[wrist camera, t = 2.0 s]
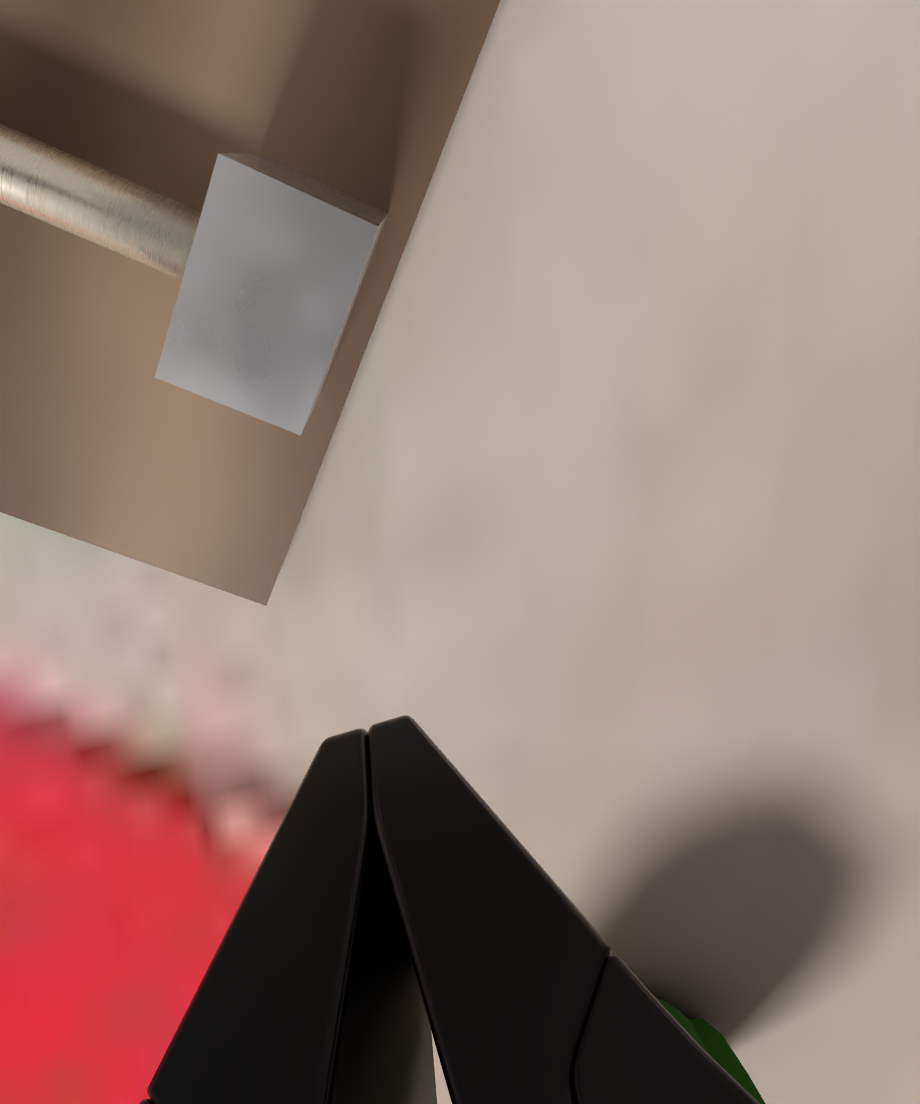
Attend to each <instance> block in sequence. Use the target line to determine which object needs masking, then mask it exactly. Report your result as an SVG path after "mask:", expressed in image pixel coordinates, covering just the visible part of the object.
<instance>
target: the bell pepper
mask: <svg viewBox="0 0 920 1104" xmlns="http://www.w3.org/2000/svg"><path fill="white" fill-rule="evenodd" d="M654 997H655V996H654ZM655 998H656V999H657V1000H658V1001H659V1002H660V1003H661V1004H662V1005H663V1006H664V1007H665V1008H666V1010H667V1011H668V1012H669V1013H670V1014H671V1015H672V1016H673V1017H674V1018H675V1019H676V1020H677V1021H678V1022H679V1024H680V1025H681V1026H682V1027H683V1028H684V1029H685V1030H686V1031H687V1032H688V1033H689V1034H690V1035H691V1037H692V1038H693V1039H694V1040H695V1041H696V1042H697V1043H698V1044H699V1045H700V1046H701V1047H702V1048H703V1049H704V1050H705V1051H706V1052H707V1053H708V1054H709V1055H710V1056H711V1057H712V1058H713V1059H714V1060H715V1061H716V1062H717V1063H718V1064H719V1065H720V1066H721V1067H722V1068H723V1069H725V1070H726V1071H727V1072H728V1073H729V1074H730V1075H731V1076H732V1077H733V1078H734V1079H735V1080H736V1081H737V1082H738V1083H739V1084H740V1085H741V1086H742V1087H743V1088H744V1089H745V1090H746V1091H747V1092H748V1093H750V1094H751V1095H752V1096H753V1097H754V1098H755V1099H756V1100H757V1101H758V1102H759V1103H760V1104H765V1102H764V1101H763V1099H762V1097H761V1095H760V1094H759V1092H758V1090H757V1089H756V1087H755V1085H754V1083H753V1082H752V1080H751V1078H750V1077H749V1075H748V1073H747V1072H746V1070H745V1069H744V1067H743V1066H742V1064H741V1063H740V1061H739V1060H738V1058H737V1057H736V1055H735V1054H734V1052H733V1051H732V1049H731V1048H730V1046H729V1045H728V1043H727V1042H726V1040H725V1038H724V1037H723V1035H722V1034H720V1033H719V1032H718V1031H717V1030H716V1029H714V1028H713V1027H712V1026H711V1025H709V1024H708V1023H707V1022H706V1021H704V1020H703V1019H702V1018H697V1019H690V1020H689V1019H688V1018H687V1017H686V1016H685V1015H684V1014H683V1013H682V1012H681V1011H679V1010H678V1009H677V1008H676V1007H675V1006H673V1005H671V1004H669V1003H667V1002H665V1001H663V1000H661V999H659V998H657V997H655Z"/></svg>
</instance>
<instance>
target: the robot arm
mask: <svg viewBox="0 0 920 1104" xmlns="http://www.w3.org/2000/svg"><path fill="white" fill-rule="evenodd" d="M431 1031H432V1034H433V1038H434V1041H435V1045H436V1048H437V1052H438V1055H439V1059H440V1062H441V1066H442V1069H443V1073H444V1077H445V1080H446V1084H447V1087H448V1091H449V1094H450V1098H451V1101H452V1104H760V1103H759V1102H758V1101H757V1100H756V1099H755V1098H754V1097H753V1096H752V1095H751V1094H750V1093H748V1092H747V1091H746V1090H745V1089H744V1088H743V1087H742V1086H741V1085H740V1084H739V1083H738V1082H737V1081H736V1080H735V1079H734V1078H733V1077H732V1076H731V1075H730V1074H729V1073H728V1072H727V1071H726V1070H725V1069H723V1068H722V1067H721V1066H720V1065H719V1064H718V1063H717V1062H716V1061H715V1060H714V1059H713V1058H712V1057H711V1056H710V1055H709V1054H708V1053H707V1052H706V1051H705V1050H704V1049H703V1048H702V1047H701V1046H700V1045H699V1044H698V1043H697V1042H696V1041H695V1040H694V1039H693V1038H692V1037H691V1035H690V1034H689V1033H688V1032H687V1031H686V1030H685V1029H684V1028H683V1027H682V1026H681V1025H680V1024H679V1022H678V1021H677V1020H676V1019H675V1018H674V1017H673V1016H672V1015H671V1014H670V1013H669V1012H668V1011H667V1010H666V1008H665V1007H664V1006H663V1005H662V1004H661V1003H660V1002H659V1001H658V1000H657V999H656V998H655V997H654V996H653V994H652V993H651V992H650V991H649V990H648V989H647V988H646V987H645V985H644V984H643V983H642V982H641V981H640V980H639V978H638V977H637V976H636V975H635V974H634V973H633V972H632V970H631V969H630V968H629V967H628V966H627V965H626V963H625V962H624V961H623V960H622V959H621V958H620V957H619V956H618V955H615V954H614V955H613V953H612V949H611V947H610V946H609V945H608V943H607V942H606V941H605V940H604V939H603V938H602V937H601V935H600V934H599V933H598V932H597V931H596V930H595V928H594V927H593V926H592V925H591V924H590V923H589V922H588V920H587V919H586V918H585V917H584V916H583V915H582V913H581V912H580V911H579V910H578V909H577V908H576V906H575V905H574V904H573V903H572V902H571V901H570V900H569V898H568V897H567V896H566V895H565V894H564V893H563V891H562V890H561V889H560V888H559V887H558V886H557V885H556V883H555V882H554V881H553V880H552V879H551V878H550V876H549V875H548V874H547V873H546V872H545V871H544V870H543V868H542V867H541V866H540V865H539V864H538V863H537V861H536V860H535V859H534V858H533V857H532V856H531V854H530V853H529V852H528V851H527V850H526V849H525V848H524V846H523V845H522V844H521V843H520V842H519V841H518V839H517V838H516V837H515V836H514V835H513V834H512V833H511V831H510V830H509V829H508V828H507V827H506V826H505V824H504V823H503V822H502V821H501V820H500V819H499V817H498V816H497V815H496V814H495V813H494V812H493V811H492V809H491V808H490V807H489V806H488V805H487V804H486V802H485V801H484V800H483V799H482V798H481V797H480V796H479V794H478V793H477V792H476V791H475V790H474V789H473V787H472V786H471V785H470V784H469V783H468V782H467V781H466V779H465V778H464V777H463V776H462V775H461V774H460V772H459V771H458V770H457V769H456V768H455V767H454V765H453V764H452V763H451V762H450V761H449V760H448V759H447V757H446V756H445V755H444V754H443V753H442V752H441V750H440V749H439V748H438V747H437V746H436V745H435V744H434V742H433V741H432V740H431V739H430V738H429V737H428V735H427V734H426V733H425V732H424V731H423V730H422V728H421V727H420V726H419V725H418V724H417V723H416V722H415V720H414V719H412V718H411V717H410V716H401V717H397V718H394V719H391V720H387V721H384V722H380V723H377V724H374V725H372V726H371V727H370V729H369V732H367V731H366V730H364V729H356V730H353V731H349V732H346V733H342V734H339V735H336V736H332V737H329V738H327V739H325V741H324V742H323V743H322V744H321V746H320V747H319V749H318V751H317V753H316V755H315V757H314V759H313V761H312V763H311V765H310V767H309V769H308V771H307V773H306V775H305V777H304V779H303V781H302V783H301V785H300V787H299V789H298V791H297V793H296V795H295V797H294V799H293V801H292V803H291V805H290V807H289V809H288V811H287V813H286V815H285V817H284V819H283V821H282V823H281V825H280V827H279V829H278V831H277V833H276V835H275V837H274V839H273V841H272V843H271V845H270V847H269V849H268V851H267V853H266V855H265V857H264V859H263V861H262V863H261V865H260V867H259V868H258V870H257V872H256V874H255V876H254V878H253V880H252V882H251V884H250V886H249V888H248V890H247V892H246V894H245V896H244V898H243V900H242V902H241V904H240V906H239V908H238V910H237V912H236V914H235V916H234V918H233V920H232V922H231V924H230V926H229V928H228V930H227V932H226V934H225V936H224V938H223V940H222V942H221V944H220V946H219V948H218V950H217V952H216V954H215V956H214V958H213V960H212V962H211V964H210V966H209V968H208V970H207V972H206V974H205V976H204V978H203V980H202V982H201V984H200V986H199V987H198V989H197V991H196V993H195V995H194V997H193V999H192V1001H191V1003H190V1005H189V1007H188V1009H187V1011H186V1013H185V1015H184V1017H183V1019H182V1021H181V1023H180V1025H179V1027H178V1029H177V1031H176V1033H175V1035H174V1037H173V1039H172V1041H171V1043H170V1045H169V1047H168V1049H167V1051H166V1053H165V1055H164V1057H163V1059H162V1061H161V1063H160V1065H159V1067H158V1069H157V1071H156V1073H155V1075H154V1077H153V1079H152V1081H151V1083H150V1085H149V1087H148V1090H147V1093H148V1095H149V1097H150V1099H151V1100H150V1099H144V1100H142V1101H141V1102H140V1104H437V1097H436V1084H435V1072H434V1059H433V1047H432V1034H431Z"/></svg>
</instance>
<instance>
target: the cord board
mask: <svg viewBox="0 0 920 1104" xmlns="http://www.w3.org/2000/svg"><path fill="white" fill-rule="evenodd" d="M499 2H500V0H0V123H1V124H3V125H5V126H7V127H10V128H12V129H14V130H16V131H19V132H21V133H23V134H26V135H28V136H30V137H32V138H35V139H37V140H39V141H41V142H44V143H46V144H48V145H50V146H53V147H55V148H57V149H59V150H62V151H64V152H66V153H68V154H71V155H73V156H75V157H78V158H80V159H82V160H84V161H87V162H89V163H91V164H93V165H96V166H98V167H100V168H102V169H105V170H107V171H109V172H111V173H114V174H116V175H118V176H120V177H123V178H125V179H127V180H130V181H132V182H134V183H136V184H139V185H141V186H143V187H145V188H148V189H150V190H152V191H154V192H157V193H159V194H161V195H163V196H166V197H168V198H170V199H172V200H175V201H177V202H179V203H182V204H184V205H186V206H188V207H191V208H193V209H195V210H197V211H200V212H202V209H203V205H204V202H205V198H206V195H207V191H208V188H209V184H210V180H211V177H212V173H213V170H214V166H215V163H216V159H217V156H218V153H258V154H261V155H263V156H265V157H267V158H269V159H271V160H274V161H276V162H278V163H280V164H282V165H284V166H286V167H289V168H291V169H293V170H295V171H297V172H299V173H302V174H304V175H306V176H308V177H310V178H312V179H315V180H317V181H319V182H321V183H323V184H325V185H328V186H330V187H332V188H334V189H336V190H338V191H340V192H343V193H345V194H347V195H349V196H351V197H353V198H356V199H358V200H360V201H362V202H364V203H366V204H369V205H371V206H373V207H375V208H377V209H379V210H382V211H384V212H386V213H388V215H387V218H386V221H385V223H384V226H383V229H382V232H381V234H380V237H379V240H378V242H377V245H376V248H375V250H374V253H373V256H372V258H371V261H370V264H369V266H368V269H367V272H366V274H365V277H364V280H363V283H362V285H361V288H360V291H359V293H358V296H357V299H356V301H355V304H354V307H353V309H352V312H351V315H350V317H349V320H348V323H347V326H346V328H345V331H344V334H343V336H342V339H341V342H340V344H339V347H338V350H337V352H336V355H335V358H334V360H333V363H332V366H331V368H330V371H329V374H328V377H327V379H326V382H325V385H324V387H323V390H322V392H321V394H320V396H319V398H318V400H317V402H316V404H315V407H314V409H313V411H312V413H311V415H310V417H309V419H308V421H307V423H306V425H305V427H304V429H303V432H302V434H301V435H298V434H296V433H293V432H290V431H288V430H285V429H283V428H280V427H278V426H275V425H273V424H270V423H268V422H265V421H263V420H260V419H258V418H255V417H253V416H250V415H248V414H245V413H243V412H240V411H238V410H235V409H233V408H230V407H228V406H225V405H223V404H220V403H218V402H215V401H213V400H210V399H208V398H205V397H203V396H200V395H198V394H195V393H192V392H190V391H187V390H185V389H182V388H180V387H177V386H175V385H172V384H170V383H167V382H165V381H162V380H160V379H157V378H155V374H156V371H157V367H158V364H159V360H160V357H161V353H162V350H163V346H164V343H165V339H166V336H167V332H168V328H169V325H170V321H171V318H172V314H173V311H174V307H175V304H176V300H177V297H178V293H179V290H180V286H181V283H182V280H181V279H178V278H176V277H174V276H171V275H169V274H167V273H164V272H162V271H159V270H157V269H155V268H152V267H150V266H148V265H145V264H143V263H141V262H138V261H136V260H134V259H131V258H129V257H126V256H124V255H122V254H119V253H117V252H115V251H112V250H110V249H108V248H105V247H103V246H100V245H98V244H96V243H93V242H91V241H89V240H86V239H84V238H82V237H79V236H77V235H75V234H72V233H70V232H67V231H65V230H63V229H60V228H58V227H56V226H53V225H51V224H49V223H46V222H44V221H42V220H39V219H37V218H34V217H32V216H30V215H27V214H25V213H23V212H20V211H18V210H16V209H13V208H11V207H9V206H6V205H4V204H1V203H0V512H2V513H5V514H8V515H11V516H14V517H16V518H19V519H22V520H25V521H28V522H31V523H33V524H36V525H39V526H42V527H45V528H48V529H50V530H53V531H56V532H59V533H62V534H65V535H67V536H70V537H73V538H76V539H79V540H82V541H84V542H87V543H90V544H93V545H96V546H99V547H101V548H104V549H107V550H110V551H113V552H116V553H118V554H121V555H124V556H127V557H130V558H133V559H135V560H138V561H141V562H144V563H147V564H150V565H152V566H155V567H158V568H161V569H164V570H167V571H169V572H172V573H175V574H178V575H181V576H184V577H186V578H189V579H192V580H195V581H198V582H201V583H203V584H206V585H209V586H212V587H215V588H218V589H220V590H223V591H226V592H229V593H232V594H235V595H237V596H240V597H243V598H246V599H249V600H252V601H254V602H257V603H260V604H263V605H267V602H268V600H269V597H270V595H271V592H272V589H273V587H274V584H275V582H276V579H277V576H278V574H279V571H280V569H281V566H282V563H283V561H284V558H285V556H286V553H287V551H288V548H289V545H290V543H291V540H292V538H293V535H294V532H295V530H296V527H297V525H298V522H299V519H300V517H301V514H302V512H303V509H304V507H305V504H306V501H307V499H308V496H309V494H310V491H311V488H312V486H313V483H314V481H315V478H316V476H317V473H318V470H319V468H320V465H321V463H322V460H323V457H324V455H325V452H326V450H327V447H328V444H329V442H330V439H331V437H332V434H333V432H334V429H335V426H336V424H337V421H338V419H339V416H340V413H341V411H342V408H343V406H344V403H345V400H346V398H347V395H348V393H349V390H350V388H351V385H352V382H353V380H354V377H355V375H356V372H357V369H358V367H359V364H360V362H361V359H362V356H363V354H364V351H365V349H366V346H367V344H368V341H369V338H370V336H371V333H372V331H373V328H374V325H375V323H376V320H377V318H378V315H379V312H380V310H381V307H382V305H383V302H384V300H385V297H386V294H387V292H388V289H389V287H390V284H391V281H392V279H393V276H394V274H395V271H396V269H397V266H398V263H399V261H400V258H401V256H402V253H403V250H404V248H405V245H406V243H407V240H408V237H409V235H410V232H411V230H412V227H413V225H414V222H415V219H416V217H417V214H418V212H419V209H420V206H421V204H422V201H423V199H424V196H425V193H426V191H427V188H428V186H429V183H430V181H431V178H432V175H433V173H434V170H435V168H436V165H437V162H438V160H439V157H440V155H441V152H442V149H443V147H444V144H445V142H446V139H447V137H448V134H449V131H450V129H451V126H452V124H453V121H454V118H455V116H456V113H457V111H458V108H459V105H460V103H461V100H462V98H463V95H464V93H465V90H466V87H467V85H468V82H469V80H470V77H471V74H472V72H473V69H474V67H475V64H476V61H477V59H478V56H479V54H480V51H481V49H482V46H483V43H484V41H485V38H486V36H487V33H488V30H489V28H490V25H491V23H492V20H493V18H494V15H495V12H496V10H497V7H498V5H499Z"/></svg>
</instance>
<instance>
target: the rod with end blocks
mask: <svg viewBox="0 0 920 1104" xmlns="http://www.w3.org/2000/svg"><path fill="white" fill-rule="evenodd" d="M0 203H1V204H4V205H6V206H9V207H11V208H13V209H16V210H18V211H20V212H23V213H25V214H27V215H30V216H32V217H34V218H37V219H39V220H42V221H44V222H46V223H49V224H51V225H53V226H56V227H58V228H60V229H63V230H65V231H67V232H70V233H72V234H75V235H77V236H79V237H82V238H84V239H86V240H89V241H91V242H93V243H96V244H98V245H100V246H103V247H105V248H108V249H110V250H112V251H115V252H117V253H119V254H122V255H124V256H126V257H129V258H131V259H134V260H136V261H138V262H141V263H143V264H145V265H148V266H150V267H152V268H155V269H157V270H159V271H162V272H164V273H167V274H169V275H171V276H174V277H176V278H178V279H181V280H182V283H181V286H180V290H179V293H178V297H177V300H176V304H175V307H174V311H173V314H172V318H171V321H170V325H169V328H168V332H167V336H166V339H165V343H164V346H163V350H162V353H161V357H160V360H159V364H158V367H157V371H156V374H155V378H157V379H160V380H162V381H165V382H167V383H170V384H172V385H175V386H177V387H180V388H182V389H185V390H187V391H190V392H192V393H195V394H198V395H200V396H203V397H205V398H208V399H210V400H213V401H215V402H218V403H220V404H223V405H225V406H228V407H230V408H233V409H235V410H238V411H240V412H243V413H245V414H248V415H250V416H253V417H255V418H258V419H260V420H263V421H265V422H268V423H270V424H273V425H275V426H278V427H280V428H283V429H285V430H288V431H290V432H293V433H296V434H298V435H301V434H302V432H303V429H304V427H305V425H306V423H307V421H308V419H309V417H310V415H311V413H312V411H313V409H314V407H315V404H316V402H317V400H318V398H319V396H320V394H321V392H322V390H323V387H324V385H325V382H326V379H327V377H328V374H329V371H330V368H331V366H332V363H333V360H334V358H335V355H336V352H337V350H338V347H339V344H340V342H341V339H342V336H343V334H344V331H345V328H346V326H347V323H348V320H349V317H350V315H351V312H352V309H353V307H354V304H355V301H356V299H357V296H358V293H359V291H360V288H361V285H362V283H363V280H364V277H365V274H366V272H367V269H368V266H369V264H370V261H371V258H372V256H373V253H374V250H375V248H376V245H377V242H378V240H379V237H380V234H381V232H382V229H383V226H384V223H385V221H386V218H387V215H388V213H386V212H384V211H382V210H379V209H377V208H375V207H373V206H371V205H369V204H366V203H364V202H362V201H360V200H358V199H356V198H353V197H351V196H349V195H347V194H345V193H343V192H340V191H338V190H336V189H334V188H332V187H330V186H328V185H325V184H323V183H321V182H319V181H317V180H315V179H312V178H310V177H308V176H306V175H304V174H302V173H299V172H297V171H295V170H293V169H291V168H289V167H286V166H284V165H282V164H280V163H278V162H276V161H274V160H271V159H269V158H267V157H265V156H263V155H261V154H258V153H218V156H217V159H216V163H215V166H214V170H213V173H212V177H211V180H210V184H209V188H208V191H207V195H206V198H205V202H204V205H203V209H202V212H200V211H197V210H195V209H193V208H191V207H188V206H186V205H184V204H182V203H179V202H177V201H175V200H172V199H170V198H168V197H166V196H163V195H161V194H159V193H157V192H154V191H152V190H150V189H148V188H145V187H143V186H141V185H139V184H136V183H134V182H132V181H130V180H127V179H125V178H123V177H120V176H118V175H116V174H114V173H111V172H109V171H107V170H105V169H102V168H100V167H98V166H96V165H93V164H91V163H89V162H87V161H84V160H82V159H80V158H78V157H75V156H73V155H71V154H68V153H66V152H64V151H62V150H59V149H57V148H55V147H53V146H50V145H48V144H46V143H44V142H41V141H39V140H37V139H35V138H32V137H30V136H28V135H26V134H23V133H21V132H19V131H16V130H14V129H12V128H10V127H7V126H5V125H3V124H1V123H0Z"/></svg>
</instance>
